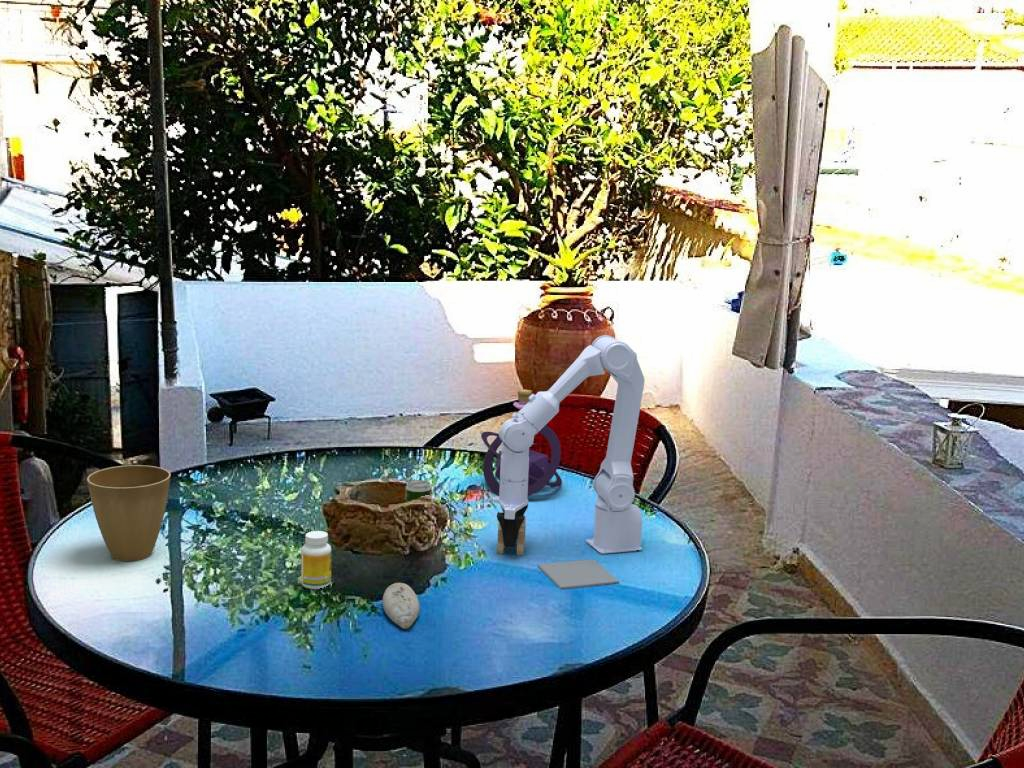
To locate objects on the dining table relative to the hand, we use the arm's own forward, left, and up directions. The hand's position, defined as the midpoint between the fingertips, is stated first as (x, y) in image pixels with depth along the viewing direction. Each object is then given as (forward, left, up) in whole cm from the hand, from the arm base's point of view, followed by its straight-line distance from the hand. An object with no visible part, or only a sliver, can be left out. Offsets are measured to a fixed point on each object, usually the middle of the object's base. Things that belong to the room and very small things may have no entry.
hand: (511, 542), depth 203 cm
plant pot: (+73, -14, -2) cm, 74 cm away
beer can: (+17, -11, -2) cm, 20 cm away
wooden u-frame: (0, 0, -2) cm, 2 cm away
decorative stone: (+29, +25, -2) cm, 38 cm away
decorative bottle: (-17, -41, -2) cm, 44 cm away
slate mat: (-8, +16, -2) cm, 18 cm away
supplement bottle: (+41, +9, -2) cm, 42 cm away
